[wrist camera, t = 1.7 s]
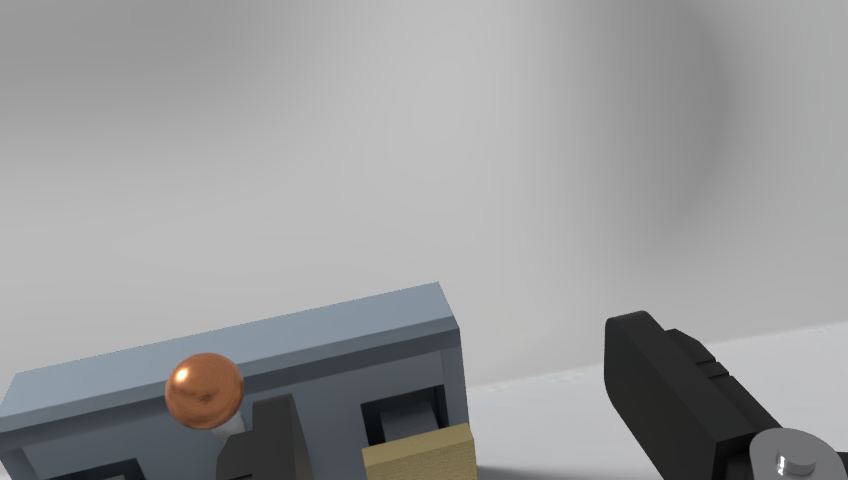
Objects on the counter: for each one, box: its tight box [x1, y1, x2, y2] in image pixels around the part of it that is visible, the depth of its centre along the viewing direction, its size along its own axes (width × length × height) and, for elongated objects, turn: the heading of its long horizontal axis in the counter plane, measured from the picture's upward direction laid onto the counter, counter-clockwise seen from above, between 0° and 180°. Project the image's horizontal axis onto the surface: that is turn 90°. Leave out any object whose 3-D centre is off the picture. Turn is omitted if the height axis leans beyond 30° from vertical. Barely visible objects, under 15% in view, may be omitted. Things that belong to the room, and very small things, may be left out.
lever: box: [165, 352, 251, 447], centre depth 26 cm, size 3×3×10 cm
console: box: [0, 282, 470, 480], centre depth 33 cm, size 20×5×13 cm, turn 102°
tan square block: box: [362, 401, 478, 480], centre depth 30 cm, size 5×4×5 cm
